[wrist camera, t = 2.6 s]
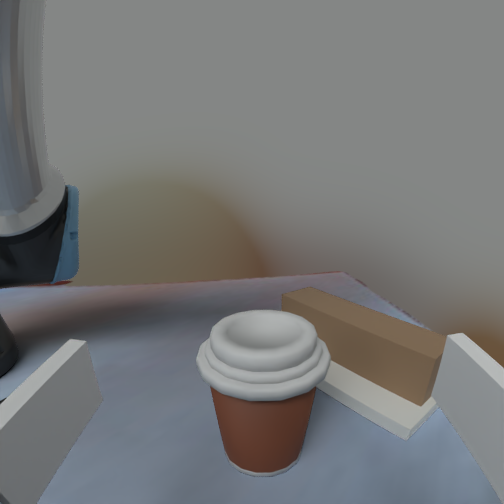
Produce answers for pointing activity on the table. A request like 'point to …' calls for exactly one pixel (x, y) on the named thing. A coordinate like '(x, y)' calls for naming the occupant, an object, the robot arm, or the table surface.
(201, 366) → the coffee cup
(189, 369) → the table surface
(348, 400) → the stand
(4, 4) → the robot arm
